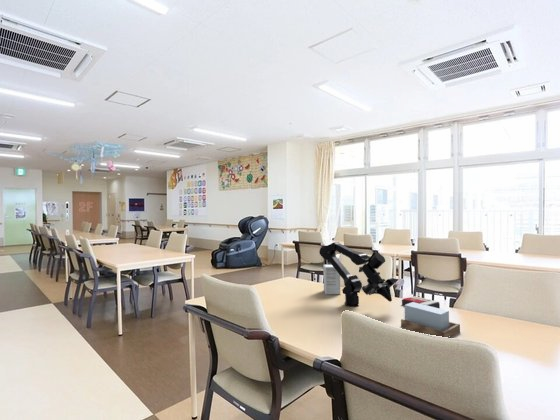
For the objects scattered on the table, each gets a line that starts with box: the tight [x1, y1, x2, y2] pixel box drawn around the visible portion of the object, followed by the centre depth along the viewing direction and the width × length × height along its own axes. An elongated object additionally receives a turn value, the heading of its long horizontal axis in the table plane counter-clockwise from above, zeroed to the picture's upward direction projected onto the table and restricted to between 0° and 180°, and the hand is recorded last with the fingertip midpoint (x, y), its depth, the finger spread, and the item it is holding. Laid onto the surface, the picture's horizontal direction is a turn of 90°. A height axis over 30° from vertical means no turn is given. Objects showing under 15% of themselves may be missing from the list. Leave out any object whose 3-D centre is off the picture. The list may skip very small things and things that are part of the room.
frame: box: [400, 318, 461, 338], centre depth 132 cm, size 18×14×3 cm
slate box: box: [404, 302, 450, 332], centre depth 133 cm, size 16×7×9 cm, turn 37°
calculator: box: [401, 295, 441, 309], centre depth 162 cm, size 11×4×15 cm
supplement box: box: [322, 264, 341, 295], centre depth 191 cm, size 10×9×17 cm
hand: (390, 301), depth 147 cm, fingers closed
